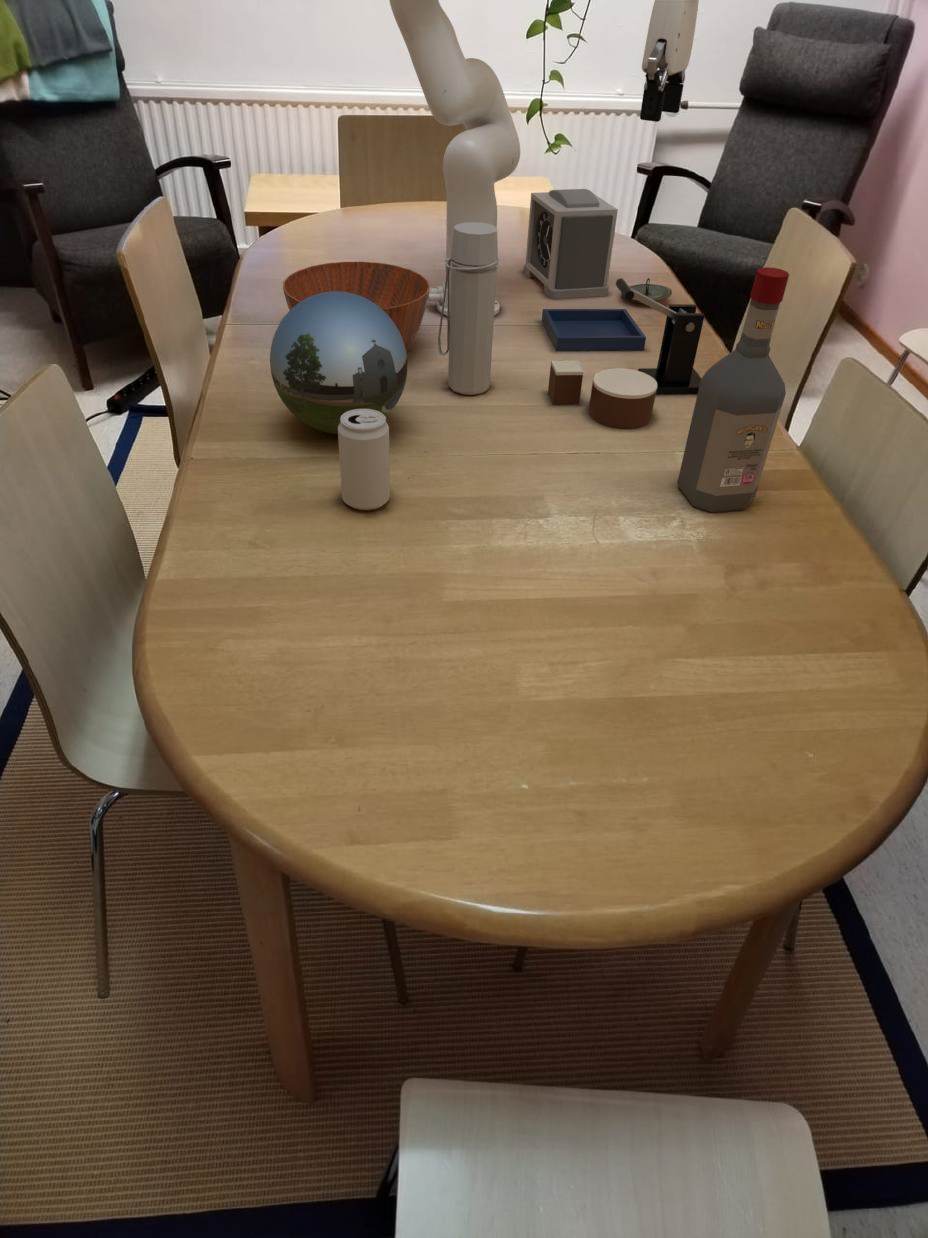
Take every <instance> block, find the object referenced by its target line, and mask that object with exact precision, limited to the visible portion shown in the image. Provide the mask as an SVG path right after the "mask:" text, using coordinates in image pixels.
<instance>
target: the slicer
mask: <svg viewBox="0 0 928 1238" xmlns="http://www.w3.org/2000/svg"><path fill="white" fill-rule="evenodd" d="M697 307H698V306H697V305H696V304H695V303H694V304H693V303H691V304H690V303H689V304H688V303H687V304H682V303H681V304H675V303H674V304H673V303H672V304H669V305H668V308H670V309H671V310H673V311H675V312H678V311H679V309H680V308H681V309H683V310H684V311H686V312H688V313H677V314H676V319H675V324H673V322H672V320H673V319H672V318H670V317H668V316H666V318H665V325H664V329H663V333H662V340H661V345H660V350H659V356H658V360H657V366H656V368H655V367H654V368H651V367H650V368H647V367H646V368H638V369H637V371H640V372H643V373H645V374H648V375H649V376H651V377H652V378H654V379H655V380H656V382H657V391H656V396H657V395H659V396H660V395H697V394H698V390H699V386H700V381H701V379H702V377H701V376H700V374H699V373H698V372H697V370H696V369H695V368H694V366H695V361H696V356H697V352H698V347H699V343H700V340H701V339H700V338H701V334H702V330H703V325H704V320H705V317H706V316H705V314H704V313H703V312H696V311H697Z"/></svg>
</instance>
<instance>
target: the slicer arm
mask: <svg viewBox="0 0 928 1238" xmlns="http://www.w3.org/2000/svg"><path fill="white" fill-rule="evenodd" d="M615 286H616V288H617V289H618V290H619V292H620V294H621V293H622V294H623V295H624V297H625V298H626V300H627V301H629V300H631V299H633V298H634V299H636V300H638V301H640V302H642V303H641V304H644V305H645V306H648V307H650V308H651V309H653V310H655V311H656V312H659V313H661V314H663V315H665V316H666V317H667V316H668V317H670V318H672V319H673V320H672V322H673V324H675V319H676V314H677V313H688V312H686V311H684V310H683V309H681V308H680V309H679V311H678V312H675V311H673V310H671V309H670V308H669V306H666V305H664V304H662V303H661V302H659V301H658V302H656V301H655V300H653V299H651V298H649V297H647V296H645V295H643V294H641V293H640V292H638V291H636V290H634V289H632V288H630V285H628V283H627V282H626V281H625V280H624V278H621V277H620V278H618V279H616V281H615ZM624 297H623V298H624ZM625 298H624V299H625Z"/></svg>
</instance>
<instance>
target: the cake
mask: <svg viewBox="0 0 928 1238" xmlns="http://www.w3.org/2000/svg"><path fill="white" fill-rule="evenodd" d="M656 391H657V382H656V380H655V379H654V378H652V377H651V376H649V375H648V374H645V373H643V372H640V371H638V370H635V369H631V368H624V367H623V368H622V367H621V368H619V367H617V368H616V367H615V368H607V369H602V370H600V371H598V372H596V373H595V374H594V375H593V377H592V383H591V390H590V399H589V405H588V415H589V416H590V418H591V419H592V420H593V421H595V422H596V423H598V424H600V425H603V426H606V427H609V428H614V429H620V430H621V429H623V430H632V429H637V428H642V427H645V426H646V425H648V424H649V423H650V422H651V420H652V415H653V411H654V405H655V400H656V396H657V395H656Z"/></svg>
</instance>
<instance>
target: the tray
mask: <svg viewBox="0 0 928 1238" xmlns="http://www.w3.org/2000/svg"><path fill="white" fill-rule="evenodd" d="M541 313H542V314H541V323H542V325H543V327H544V329H545V332H546V334H547V336H548V337H549V340H550V342H551V343H552V346H553V348H554V350H555V351H556V352H600V351H601V352H604V351H605V352H606V351H607V352H608V351H609V352H612V351H613V352H614V351H615V352H616V351H617V352H618V351H628V352H629V351H630V352H631V351H645V346H646V340H647V337H646V335H645V334H644V332H643V331H642V329H641V328H640V327H639V325H638V324H637V323H636V321H635V319H634V318H633V317H632V316H631V314H630V313H629V311H628V310H627V308H543V309H542V312H541Z"/></svg>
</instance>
